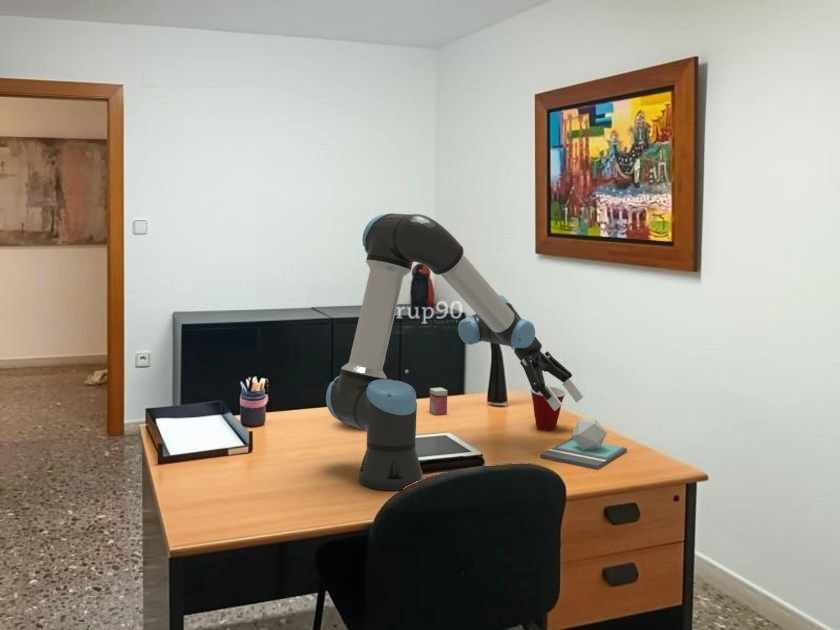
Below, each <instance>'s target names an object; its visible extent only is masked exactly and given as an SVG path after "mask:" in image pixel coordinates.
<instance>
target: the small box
mask: <svg viewBox="0 0 840 630" xmlns="http://www.w3.org/2000/svg"><path fill="white" fill-rule="evenodd" d="M428 410H429V411H428V412H429V413H431V414H433V415H434V416H441V415H442V416H443V415H447V413H448V389H445V388H444V387H431V388H429V409H428Z"/></svg>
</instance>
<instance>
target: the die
mask: <svg viewBox="0 0 840 630" xmlns="http://www.w3.org/2000/svg"><path fill="white" fill-rule="evenodd" d="M607 434H608V432H607V431H606V430H605V428H604V426H602V425H601V424H600V422H599V421H598V420H597V419H596V418H590V419H578V420H577V422H576V425H575V427H574V429H573V431H572V434H571V438H573V439H574V441H575V442H576V443H577V444H578V446H579V447H580V448H581V450H597V449H600V447H601V445H602V443H604V440H605V438H606V436H607Z"/></svg>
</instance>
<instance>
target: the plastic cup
mask: <svg viewBox="0 0 840 630" xmlns="http://www.w3.org/2000/svg"><path fill="white" fill-rule="evenodd" d="M546 386H547V385H545V387H546ZM548 386H549V385H548ZM549 387H550V389H551V390H552V391H553V393H554V394H555V395H556V397H557V398H558V399H559V401H560V402H561V403H562V402H563V400H564V398H565V396H566V395H567V391H566V390H564V389H562V388H559V387H556V386H549ZM529 391H530V393H531V399H532V404H533V405H532V406H533V414H534V420H535V426H536V429H537V430H539V431H545V432H547V431H548V432H549V431H550V432H551V431H555V430H556V428H557V426H558V420H559V417H560V412H561V407H562V406H560V407H559V408H558V409H557V410H556V411H554V410H553V408H552V407H551V406H550V404H549V403H548V402H547V400H546V399H545V398H544V396H543V395H542V394H541V392H540V391H539V392H538V393H536V392H535V391H534V390H533V389H532V388H531V387H530V388H529ZM562 404H563V403H562Z"/></svg>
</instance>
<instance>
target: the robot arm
mask: <svg viewBox="0 0 840 630" xmlns="http://www.w3.org/2000/svg"><path fill="white" fill-rule="evenodd" d="M366 224H367V225H366V226H365V228H364V230H363V234H362V246H363V247H364V252H365V253H366V254H367V256H366V259H365V263H366V265H367V266H368V268H369V273H368V278H367V282H366V286H365V292H364V294H363V295H364V296H363V300H362V304H361V307H360V311H359V312H360V313H359V316H358V321H357V326H356V329H355V333H354V338H353V343H352V347H351V353H350V356H349V359H348V362H347V363H345V364H344V365H343V366H341V368H340V373H339V376H336V377H334V380H333V381H331V382H330V383H329V384H328V387H327V390H326V394H325V401H326V406H327V410H328V411H329V413H330V414H331V416H332V417H333V418H334V419H336V420H337V421H340V422H341V423H342V424H344V425H346V426H347V425H348V426H349V425H352V426H355V427H357V428H360V429H359V430H363V431H366V450H365V453H364V455H363V459H362V461H361V463H360V464H361V465H360V467H359V470H358V471H359V472H358V481H359V483H360V484H361V485H362V486H364V487H367V488H369V489H374V490H381V491H403V490H402V489H403V488H405V487H406V486H408V485H410V484H412V483H414V482H416V481H419V480H421V479H422V480H423V470H422V468H421V463H420V460H419V456H418V453H417V450H416V438H417V434H416V433H417V412H418V411H417V410H418V408H417V407H418V403H417V393H416V390H415V389H414V387H413V386H412V385H410V384H409V383H406V382H404V381H400V380H393V379H389V378H387V375H386V374H385V372H384V370H383V367H384V365H385V364H384V360H385V359H386V354H387V351H388V346H389V345H388V344H389V341H390V337H391V333H392V329H393V324H394V319H395V315H396V311H397V307H398V302H399V298H400V293H401V290H402V289H401V288H402V286H403V285H402V283H403V280H404V277H405V276H407V275H408V274H410V273H411V272H412V268H413V263H418V264H420V265H423V266H424V267H427V268H428V269H429V270H430V271H431V272H432V273H433V274H434V275H435V276H441V277H442V278H443V279H444V280H445V281H446V282H447V284H448V285H449V286H450V287H451V288H452V289H453V290H454V291H455V292H456V293H457V294H458V296H460V297H461V298H462V300H463V301H464V302H465V303H466V304H467V305H468V306H469V307H470V309H471V310H472V311H473V312H474V313H475V314H472V315H468V316H467V317H466V318H463V319H462V320H460V321H459V323H458V326H457V331H458V335H459V338H460V339H461V340H462V342H463V343H465V344H466V345H470V346H471V345H474V344H479V343H481V342H485V343H490V344H496V345H501V346H507V347H510V349H511V350H514V351H513V352H514V354H515V355H516V357H517V358H518V360H519V365H521V367H522V369H523V370H524V373H525V375H526V378H527V380H528V383H529V385H530V388H532V389H533V390H534V391H535V392H536V393H538V392H539V391H540V392H541V394H542V395H543V396H544V398H545V399H546V400H547V402H548V403H549V404H550V406H551V407H552V408H553V410H554V411H556V410H557V409H558V408H559V407H560V406H561V407H562V406H563V403H561V402H560V401H559V399H558V398H557V397H556V395H555V394H554V393H553V391H552V390H551V389H550V387H551V386H550V387H549V385H546V382H545V378H544V377H545V376H544V373H543V372H545V373H546V372H547V373H549V374H550V375H552V376H553V377H554V378H556V379H557V380H559V381H560V382H562V386H563V387H564V388H565V391H566V392H567V393H568V394H569V395H570V396H571V398H572V399H573V400H574V401H575V403H579V401H581V400H582V399H583V398H584V397H585V395H584V394H583V393H582V391H580V389H579V387H577V385H576V384H575V383H574V381H573V380H572V379H571V378H572V377H573V373H572V372H570V371H569V370H568V369H567V368H566V367H565V366H564V365H563V364H561V362H559V361H558V360H557V359H555V357H553V356H552V354H551V353H550V352H549V351H545V352H544V353H543V352H542V351H541V350H542V347H543V344H542V343H541V342H540V341H539V339H538V338H537V337H536V328H535V325H534V324H533V323H532V322H531V321H529V320H526V319H524V318H522V317H521V316H520V315H519V313H518V312H517V311H516V309H515V308H514V306H513V305H512V303H511V302H510V301H508V299H507V298H506V297H505V296H504V295H499V294H498V293H497V292H496V291H495V289H494V288H493V287H492V286H491V285H490V283H489V282H488V281H487V280H486V278H484V276H483V275H482V274H481V273H480V272H479V271H478V270H477V269H476V267H475V266H474V265H473V264H472V263H471V262H470V260H469V259H468V258H467V257H466V255H465V254H464V253H465V252H464V251H465V250H464V247H463V246H462V245H461V244H460V242H459V241H458V240H457V239H456V238H455V237H454V235H452V234H451V232H449V231H448V230H447V229H446V228H445V227H444V226H443V225H441V223H439V222H437V221H436V220H434V219H432V218H431V217H429V216H427V215H424V214H420V213H417V214H416V213H413V214H408V213H407V214H406V213H391V212H389V213H386V214H379V215H377V216H375V217H373V218H372V219H370V221H369V222H368V223H366ZM545 386H546V387H545Z"/></svg>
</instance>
